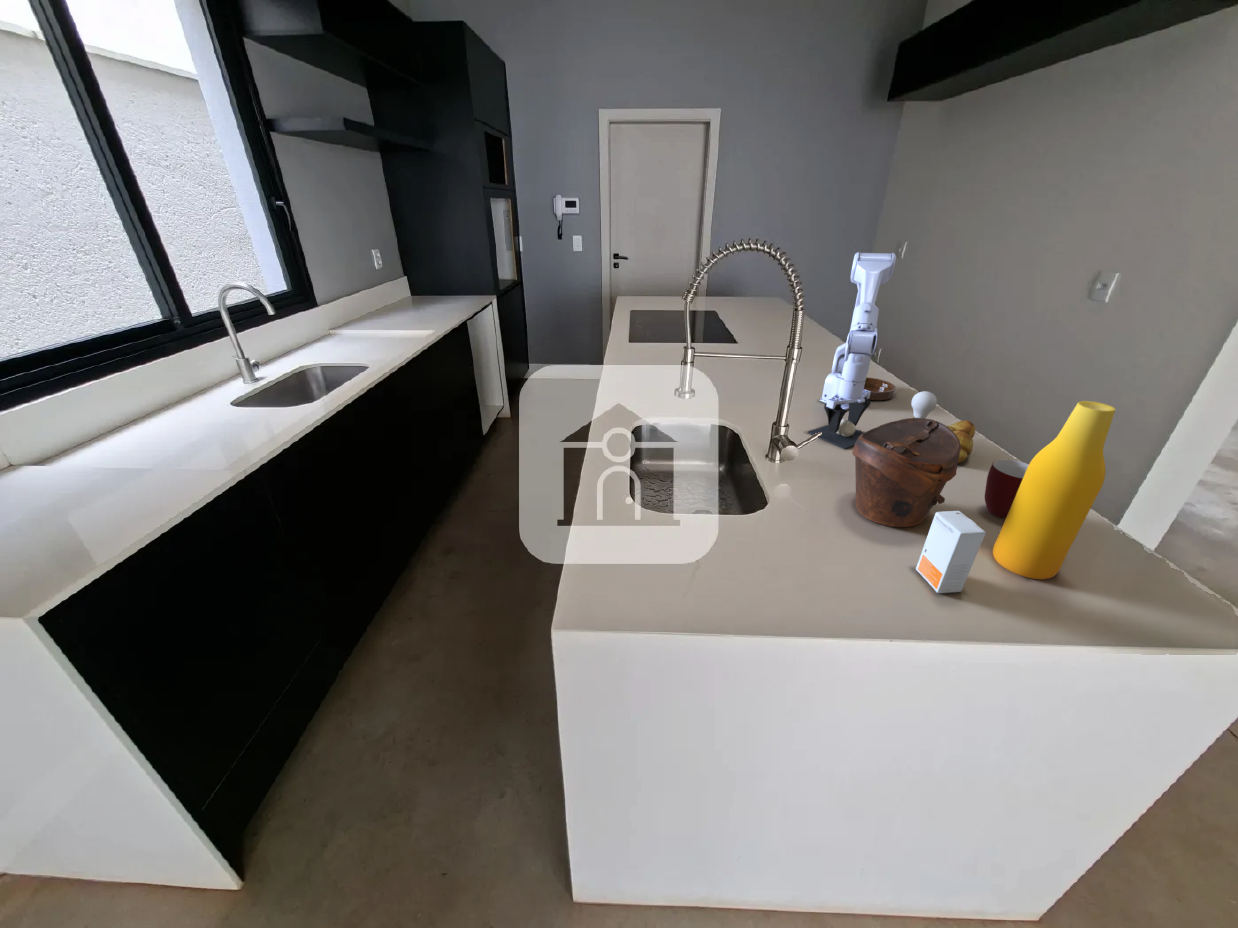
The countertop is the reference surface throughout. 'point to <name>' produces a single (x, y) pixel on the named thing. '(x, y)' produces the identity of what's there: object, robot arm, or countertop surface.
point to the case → (903, 470)
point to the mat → (837, 437)
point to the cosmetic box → (949, 551)
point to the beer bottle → (1056, 495)
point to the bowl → (879, 389)
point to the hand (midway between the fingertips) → (842, 428)
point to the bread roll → (964, 437)
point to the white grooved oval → (846, 428)
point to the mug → (1003, 485)
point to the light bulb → (923, 404)
